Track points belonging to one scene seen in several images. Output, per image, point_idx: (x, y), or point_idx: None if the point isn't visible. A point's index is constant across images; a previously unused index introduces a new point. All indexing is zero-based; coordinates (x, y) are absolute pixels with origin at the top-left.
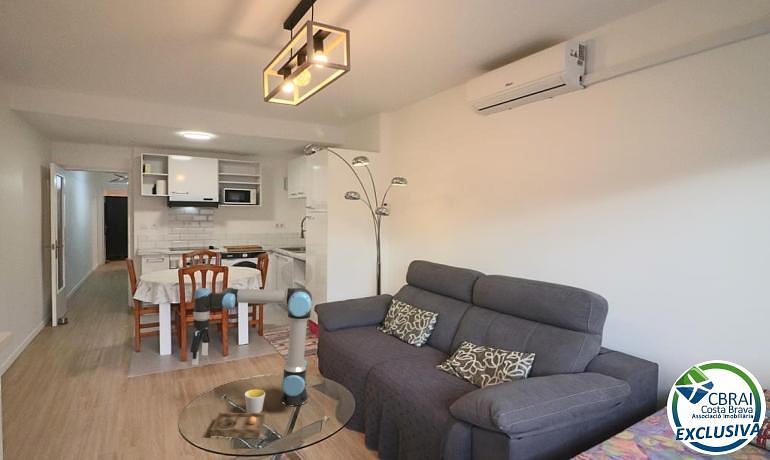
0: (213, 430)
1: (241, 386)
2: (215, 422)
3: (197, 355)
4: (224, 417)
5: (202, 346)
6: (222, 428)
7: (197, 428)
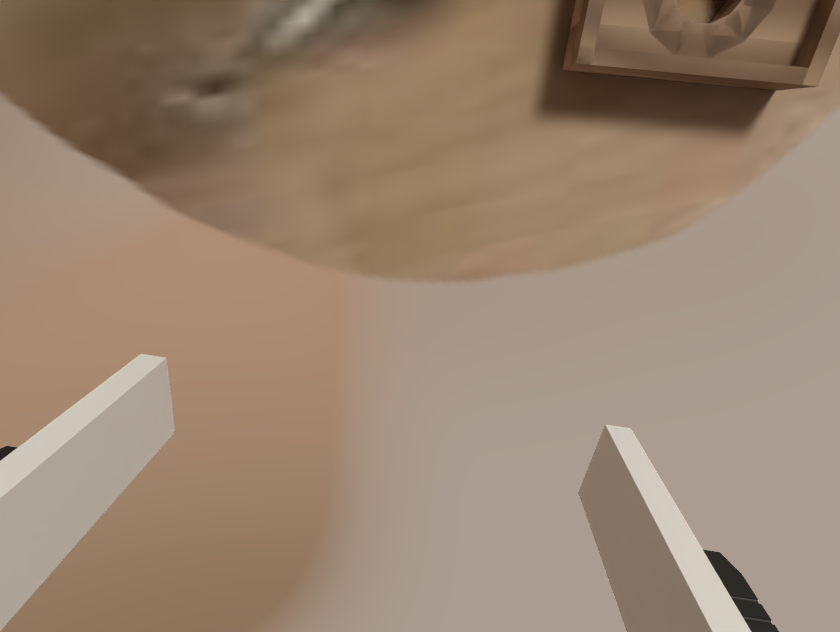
0: (824, 61)
1: None
2: (719, 66)
3: (723, 593)
4: (602, 19)
5: (48, 568)
6: (770, 4)
7: (626, 190)
